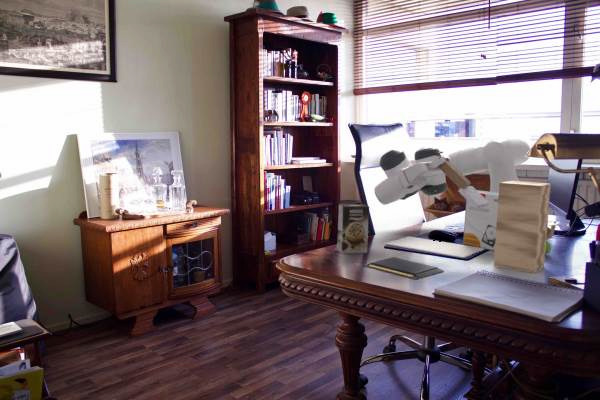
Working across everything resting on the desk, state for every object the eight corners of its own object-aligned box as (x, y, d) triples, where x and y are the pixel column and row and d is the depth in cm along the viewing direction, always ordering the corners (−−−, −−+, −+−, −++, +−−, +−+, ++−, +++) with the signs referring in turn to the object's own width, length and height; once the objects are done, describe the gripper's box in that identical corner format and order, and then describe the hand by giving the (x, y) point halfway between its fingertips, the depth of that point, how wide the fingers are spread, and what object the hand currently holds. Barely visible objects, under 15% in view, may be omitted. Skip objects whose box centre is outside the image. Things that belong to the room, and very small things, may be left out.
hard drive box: (462, 244, 193) (465, 191, 191) (473, 242, 198) (476, 189, 196) (501, 252, 182) (505, 195, 179) (512, 249, 187) (516, 194, 184)
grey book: (446, 267, 155) (414, 276, 145) (446, 273, 155) (414, 282, 145) (393, 254, 170) (361, 261, 160) (393, 260, 170) (361, 267, 160)
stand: (504, 260, 170) (510, 180, 167) (544, 266, 162) (550, 183, 159) (493, 265, 163) (499, 182, 159) (534, 273, 155) (541, 185, 151)
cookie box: (341, 254, 175) (343, 206, 173) (336, 249, 181) (338, 203, 179) (367, 253, 176) (369, 206, 174) (361, 249, 183) (363, 203, 181)
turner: (442, 162, 180) (447, 156, 179) (486, 205, 172) (492, 199, 170) (430, 163, 173) (436, 156, 172) (475, 208, 165) (482, 201, 163)
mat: (408, 237, 205) (408, 236, 205) (484, 249, 185) (484, 248, 185) (384, 244, 191) (384, 243, 191) (463, 258, 172) (463, 257, 172)
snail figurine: (550, 258, 174) (553, 222, 173) (530, 254, 179) (533, 220, 177) (555, 255, 178) (558, 220, 177) (536, 252, 183) (538, 218, 181)
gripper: (430, 183, 190) (463, 166, 182) (402, 187, 175) (437, 169, 166) (423, 168, 191) (455, 150, 183) (395, 171, 176) (428, 151, 167)
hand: (446, 159), depth 174 cm, fingers open, 3 cm apart
